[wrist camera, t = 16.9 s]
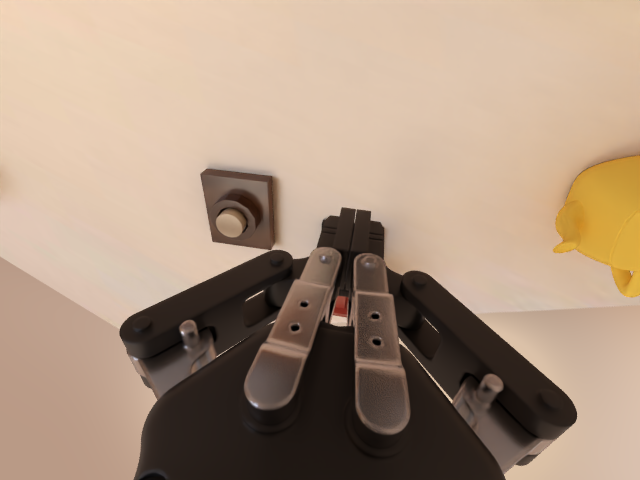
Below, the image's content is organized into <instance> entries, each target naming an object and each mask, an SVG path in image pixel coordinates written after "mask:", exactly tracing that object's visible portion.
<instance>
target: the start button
mask: <svg viewBox="0 0 640 480" xmlns="http://www.w3.org/2000/svg"><path fill="white" fill-rule="evenodd" d="M246 225H247V221H246V218H245V216H244V215H243V213H242V212H240V211H239V210H237V209H234V208H227V209H225V210H223V211H222V213H221V214H220V215H219V216H218V217H217V219H216V226H217V228H218V230H219V231H220V232H221V233H222V234H224V235H225V236H228V237H237V236H239V235H240V234H241V233H242V232H243V230H244V229H245V227H246Z"/></svg>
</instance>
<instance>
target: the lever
mask: <svg viewBox="0 0 640 480" xmlns="http://www.w3.org/2000/svg"><path fill="white" fill-rule="evenodd" d="M345 288H346V282H345V285H344V290H342V289H339V295H338V297H337V300H336V305H335V308H334V312H333V315H335V316H342V317H347V304H348V298H349V291H348V290H345Z"/></svg>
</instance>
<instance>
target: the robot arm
mask: <svg viewBox="0 0 640 480" xmlns="http://www.w3.org/2000/svg"><path fill="white" fill-rule="evenodd" d="M355 211H356V209H350V208H343V207H342V209H341V213H340V217H338V216H329V217H328V218H327V219H326V220H325V221H324V225H323V228H322V231H321V235H320V238H319V241H318V245H317V248H316V249H315V250H313V251H312V252H311V254H310V256H309V257H306V258H302V259H293V258H292V256H291V255H290V254H289V253H288V252H286V251H282V250H272V251H269V252H267V253H264V254H262V255H260V256H258V257H256V258H254V259H252V260H249V261H247V262H245V263H243V264H241V265H239V266H236V267H234V268H232V269H230V270H228V271H226V272H224V273H221V274H219V275H217V276H215V277H213V278H211V279H209V280H206V281H204V282H202V283H200V284H198V285H196V286H194V287H191V288H189V289H187V290H185V291H183V292H181V293H179V294H176V295H174V296H172V297H170V298H168V299H166V300H164V301H161V302H159V303H157V304H155V305H153V306H151V307H149V308H146V309H144V310H142V311H140V312H138V313H136V314H134V315H132V316H131V317H129V318H128V319H127V320H126V321H125V322H124V323H123V324H122V326H121V328H120V337H121V339H122V341H123V343H124V345H125V347H126V350H127V354H128V356H129V357H130V359H131V361H132V363H133V365H134V367H135V369H136V371H137V372H138V374H140V376H141V378H142V380H143V382H144V384H145V385H146V386H147V387H149V388H151V389H152V390H153V392H154V394H155V396H156V398H157V400H158V401H157V402H156V403H155V405H154V406H153V408H152V409H151V411H150V412H149V414H148V416H147V419H146V421H145V424H144V427H143V431H142V437H141V452H140V459H139V463H138V468H137V471H136V474H135V477H134V480H506V479H505V477H504V474H505V473H506V472H507V471H508V470H509V469H511V468H512V467H513V466H514V465H519V466H521V465H522V466H523V465H527V464H528V463H530V462H531V461H532V460H533V459H534V458H535V457H536V456H538V455H539V454H540V453H541V452H542V451H543V450H544V449H545V448H546V447H548V446H549V445H550V444H551V443H552V442H553V441H555V440H556V439H557V438H558V437H559V436H560V435H561V434H563V433H564V432H565V431H566V430H567V429H568V428H569V427H571V426H572V425H573V424H574V423H575V422H576V419H577V411H576V408H575V406H574V404H573V402H572V401H571V399H570V398H569V397H568V396H567V395H566V394H565V393H564V392H563V391H562V390H561V389H560V388H559V387H558V386H556V385H555V384H554V383H553V382H552V381H551V380H549V379H548V378H547V377H546V376H545V375H544V374H543V373H541V372H540V371H539V370H538V369H537V368H536V367H534V366H533V365H532V364H531V363H530V362H529V361H528V360H526V359H525V358H524V357H523V356H522V355H521V354H519V353H518V352H517V351H516V350H515V349H514V348H513V347H511V346H510V345H509V344H508V343H507V342H506V341H505V340H503V339H502V338H501V337H500V336H499V335H498V334H496V333H495V332H494V331H493V330H492V329H491V328H490V327H488V326H487V325H486V324H485V323H484V322H482V320H480V319H479V318H478V317H477V316H476V315H475V314H473V313H472V312H471V311H470V310H469V309H468V308H467V307H465V306H464V305H463V304H462V303H461V302H460V301H458V300H457V299H456V298H455V297H454V296H453V295H452V294H450V293H449V292H448V291H447V290H446V289H445V288H443V287H442V286H441V285H440V284H439V283H438V282H437V281H435V280H434V279H433V278H432V277H431V276H429V275H428V274H426V273H423V272H420V271H409V272H407V273H405V274H404V275H400V274H397V273H395V272H393V271H391V270H390V269H389V268H388V267H387V266H386V264H385V261H384V227H383V226H382V224H381V223H380V222H375V221H370V218H371V211H366V210H358V209H357V213H356V219H355ZM354 219H355V226H354ZM353 226H354V232H353ZM352 233H353V239H352ZM351 240H352V246H351ZM350 247H351V252H350ZM349 253H350V259H349ZM348 260H349V267H348V274H347V281H346V288H345V290H348V291H349V298H348V304H347V326H343V327H338V326H334V325H332V324H330V323H331V319H332V316H333V312H334V308H335V305H336V300H337V297H338V295H339V289H342V290H344V285H345V279H346V273H347V266H348ZM262 290H263V292H262V293H260V294H258V295H256V296H254V297H253V298H251V299H249V300H247V299H248V298H249V297H251V296H253V295H255V294H257V293H259V292H260V291H262ZM246 300H247V301H246ZM425 318H426V319H427V320H428V321H429V322H430V323H431V325H432V326H434V327H435V329H436V330H437V331H438V332H439V333H438V332H437V331H436V330H435V329H434V328H433V327H432V326H431V325H430V324H429V323H428V322H427V321H426V320H425ZM274 320H276V321H275V322H274V323H271V322H272V321H274ZM269 323H271V324H269ZM268 324H269V325H268ZM398 337H399V338H400V339H401V341H402V342H403V343H404V344H405V345H406V346H407V348H408V349H409V350H410V351H411V352H412V353H413V355H414V356H415V357H416V358H417V359H418V360H419V362H420V363H421V364H422V365H423V366H424V367H425V368H426V370H427V371H428V372H429V373H430V374H431V375H432V377H433V378H434V379H435V380H436V381H437V383H438V384H439V385H440V386H441V387H442V388H443V390H444V391H445V392H446V393H447V394H448V395H449V397H450V398H451V399H452V400H453V403H451V402H450V401H449V400H448V398H447V397H446V396H445V395H444V393H443V392H442V391H441V390H440V388H439V387H438V386H437V385H436V383H435V382H434V381H433V380H432V378H431V377H430V376H429V375H428V373H427V372H426V371H425V370H424V368H423V367H422V366H421V365H420V363H419V362H418V361H417V360H416V358H415V357H414V356H413V355H412V354H411V353H410V352H409V351H408V350H407V349H406V348H405V347H403V346H402V345H401V344H399V338H398ZM243 339H244V340H243ZM240 341H241V342H240ZM237 343H238V344H237ZM235 344H236V345H235ZM234 345H235V346H234ZM232 346H233V347H232ZM230 347H232V348H230ZM229 348H230V349H229ZM227 349H229V350H227ZM226 350H227V351H226ZM224 351H226V352H224ZM222 352H224V353H223V354H221V353H222ZM219 354H221V355H220V356H218V355H219ZM216 356H218V357H217V358H216Z"/></svg>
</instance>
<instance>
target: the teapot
mask: <svg viewBox="0 0 640 480" xmlns="http://www.w3.org/2000/svg"><path fill="white" fill-rule="evenodd" d="M555 224H556V229H557V232H558V233H559V235H560V236H561V237H562V239H563V242H561V243H560V244H558V245H557V246H556V247H554V249H553V252H555V253H564V252H569V251H571V250H574V249H576V250H577V251H578V252H580V253H582V254H583V255H585V256H587V257H589V258H592V259H594V260H596V261H599V262H601V263H604V264H606V265H609V266H611V270H612V274H613V278H614V281H615V283H616V285H617V287H618V289H619V291H620V292H621V293H622V294H623V295H624V296H626V297H636V296H639V295H640V155H639V156H632V157H626V158H621V159H616V160H612V161H608V162H604V163H601V164H598V165H595V166H592V167H590V168H588V169H586V170H585V171H583V172H582V173H581V174H580V175H579V176H578V177H577V178H576V179H575V181H574V183H573V185H572V187H571V189H570V192H569V194H568V197H567V199H566V202H565V206H564V207H563V208H562V209H561V210H560V211H559V213H558V215H557V218H556V223H555ZM630 271H634V272H633V275H632V276H631V273H630Z"/></svg>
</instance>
